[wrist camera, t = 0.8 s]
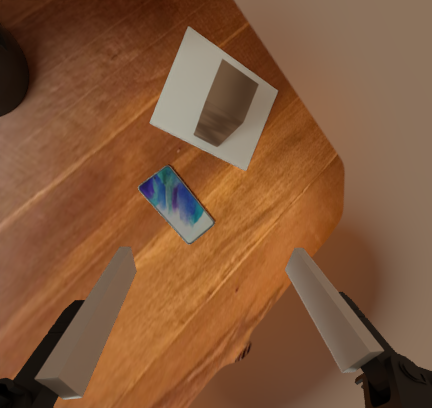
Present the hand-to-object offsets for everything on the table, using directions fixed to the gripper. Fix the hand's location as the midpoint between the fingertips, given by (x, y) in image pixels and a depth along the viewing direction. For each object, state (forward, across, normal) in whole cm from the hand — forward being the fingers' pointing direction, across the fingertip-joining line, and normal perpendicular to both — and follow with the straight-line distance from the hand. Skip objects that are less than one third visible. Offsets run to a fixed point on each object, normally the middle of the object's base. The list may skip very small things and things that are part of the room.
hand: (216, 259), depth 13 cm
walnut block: (+24, 0, +8) cm, 25 cm away
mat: (+26, +2, +12) cm, 29 cm away
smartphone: (+18, -6, -6) cm, 20 cm away
